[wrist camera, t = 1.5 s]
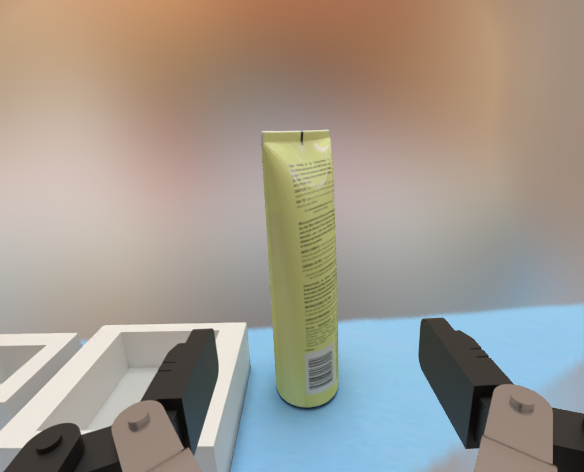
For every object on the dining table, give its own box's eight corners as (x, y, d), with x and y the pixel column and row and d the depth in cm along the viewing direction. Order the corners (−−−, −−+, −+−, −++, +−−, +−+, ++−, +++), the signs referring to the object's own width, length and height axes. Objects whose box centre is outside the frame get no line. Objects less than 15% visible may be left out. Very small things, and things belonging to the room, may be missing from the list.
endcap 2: (10, 507, 18) (-17, 448, 17) (114, 369, 29) (103, 325, 27) (222, 507, 18) (213, 446, 17) (250, 367, 28) (246, 322, 27)
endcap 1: (-78, 457, 21) (-107, 403, 20) (11, 379, 28) (-6, 334, 27) (26, 456, 21) (4, 402, 20) (91, 377, 28) (78, 332, 26)
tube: (273, 362, 29) (258, 130, 23) (329, 356, 29) (329, 127, 23) (278, 415, 24) (260, 131, 17) (347, 406, 24) (353, 127, 18)
